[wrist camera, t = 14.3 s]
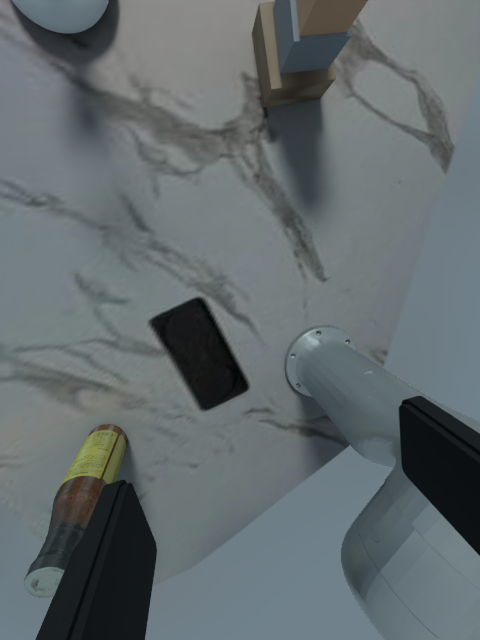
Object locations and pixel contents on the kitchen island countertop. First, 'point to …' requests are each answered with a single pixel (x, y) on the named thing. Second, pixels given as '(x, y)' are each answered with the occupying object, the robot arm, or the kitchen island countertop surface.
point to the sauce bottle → (76, 506)
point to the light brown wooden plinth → (271, 82)
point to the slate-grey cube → (303, 42)
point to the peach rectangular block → (327, 15)
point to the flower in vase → (63, 13)
